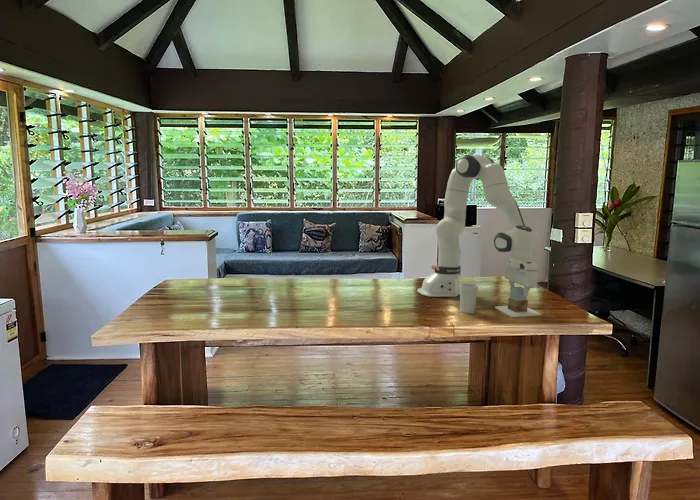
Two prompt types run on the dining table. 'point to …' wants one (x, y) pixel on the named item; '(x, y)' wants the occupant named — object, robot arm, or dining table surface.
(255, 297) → the dining table surface
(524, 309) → the walnut block
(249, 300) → the dining table surface
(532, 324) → the dining table surface
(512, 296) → the grey cube
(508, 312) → the plate
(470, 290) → the cup
